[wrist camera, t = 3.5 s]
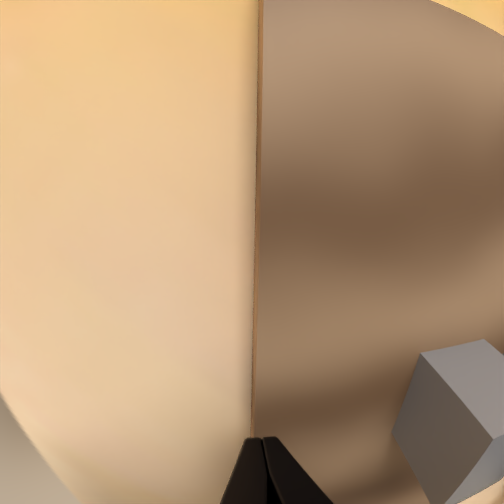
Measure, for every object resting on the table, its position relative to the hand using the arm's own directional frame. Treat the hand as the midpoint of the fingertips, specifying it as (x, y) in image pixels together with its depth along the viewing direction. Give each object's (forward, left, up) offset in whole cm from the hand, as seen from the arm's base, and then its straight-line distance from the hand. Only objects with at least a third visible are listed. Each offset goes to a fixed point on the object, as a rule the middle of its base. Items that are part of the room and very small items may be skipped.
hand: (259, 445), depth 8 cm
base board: (0, -28, -2) cm, 29 cm away
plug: (0, -14, -1) cm, 14 cm away
